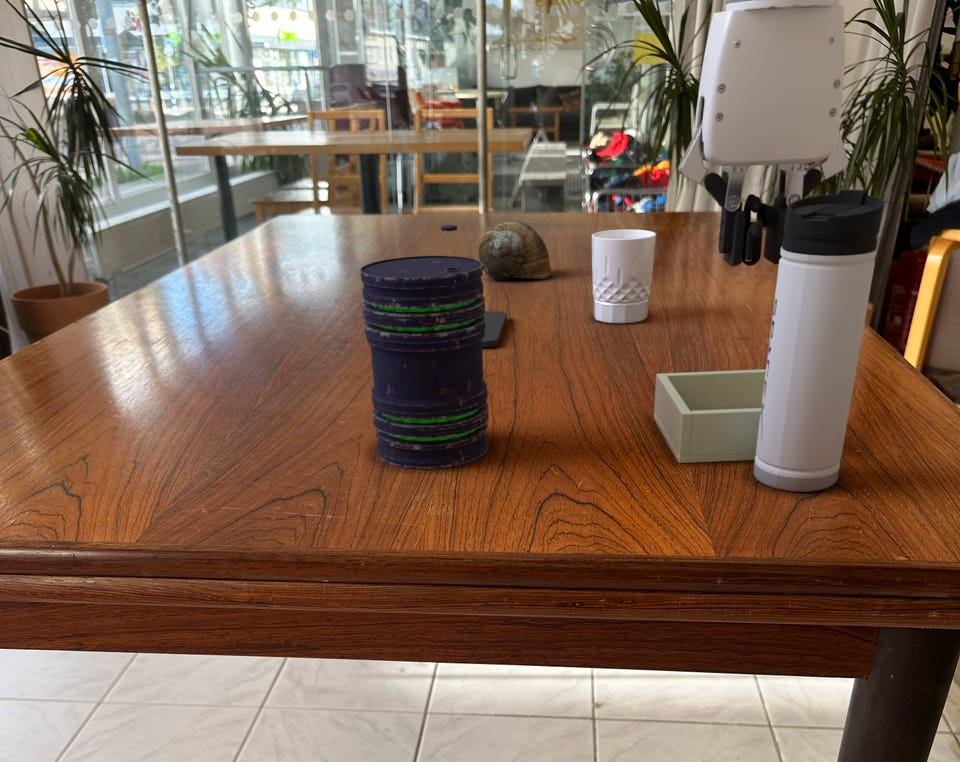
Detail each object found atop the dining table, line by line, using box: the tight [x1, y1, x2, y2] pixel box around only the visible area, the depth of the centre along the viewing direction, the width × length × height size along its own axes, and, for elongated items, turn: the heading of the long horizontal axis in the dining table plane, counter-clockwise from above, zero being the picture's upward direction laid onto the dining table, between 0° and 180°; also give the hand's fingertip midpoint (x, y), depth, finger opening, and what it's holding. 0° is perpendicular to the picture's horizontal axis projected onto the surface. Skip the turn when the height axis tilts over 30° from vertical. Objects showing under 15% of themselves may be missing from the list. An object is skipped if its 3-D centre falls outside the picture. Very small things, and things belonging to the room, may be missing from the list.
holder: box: [653, 368, 766, 464], centre depth 80 cm, size 12×12×4 cm
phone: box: [482, 310, 508, 348], centre depth 116 cm, size 7×1×15 cm
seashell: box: [478, 220, 553, 281], centre depth 144 cm, size 11×9×8 cm
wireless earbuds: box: [741, 193, 776, 267], centre depth 75 cm, size 7×2×5 cm, turn 179°
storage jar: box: [359, 224, 490, 470], centre depth 77 cm, size 10×10×18 cm
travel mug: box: [753, 188, 885, 493], centre depth 68 cm, size 6×7×20 cm
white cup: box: [591, 229, 657, 324], centre depth 118 cm, size 8×8×10 cm
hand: (752, 260), depth 76 cm, fingers closed on wireless earbuds, 2 cm apart
